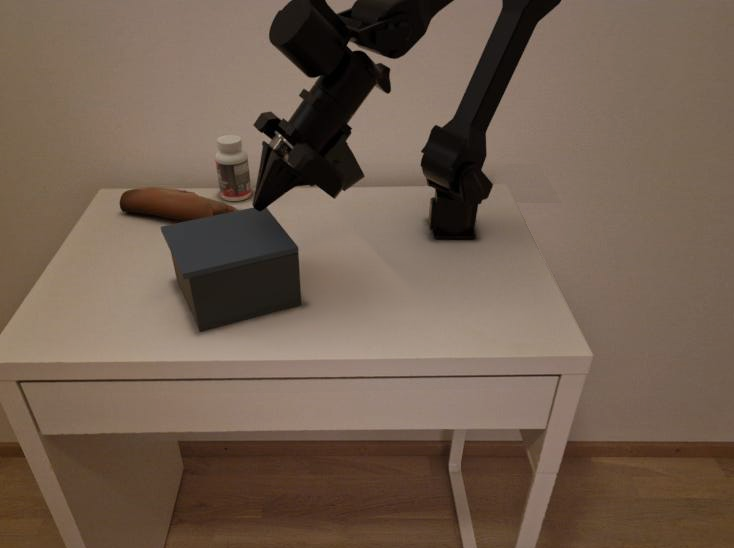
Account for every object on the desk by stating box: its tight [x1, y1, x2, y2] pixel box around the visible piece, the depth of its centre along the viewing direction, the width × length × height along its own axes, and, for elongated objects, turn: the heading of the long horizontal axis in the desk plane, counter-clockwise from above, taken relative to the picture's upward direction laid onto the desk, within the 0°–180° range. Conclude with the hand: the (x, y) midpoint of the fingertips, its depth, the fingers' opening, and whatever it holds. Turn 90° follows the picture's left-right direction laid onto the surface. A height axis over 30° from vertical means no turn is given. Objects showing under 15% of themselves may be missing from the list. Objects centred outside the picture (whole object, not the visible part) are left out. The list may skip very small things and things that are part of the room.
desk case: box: [170, 252, 303, 333], centre depth 77 cm, size 14×13×8 cm
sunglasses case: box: [119, 187, 239, 222], centre depth 97 cm, size 18×7×7 cm, turn 69°
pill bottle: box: [214, 134, 252, 202], centre depth 100 cm, size 5×5×10 cm
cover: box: [160, 206, 299, 279], centre depth 74 cm, size 14×13×1 cm
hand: (256, 208), depth 73 cm, fingers closed
